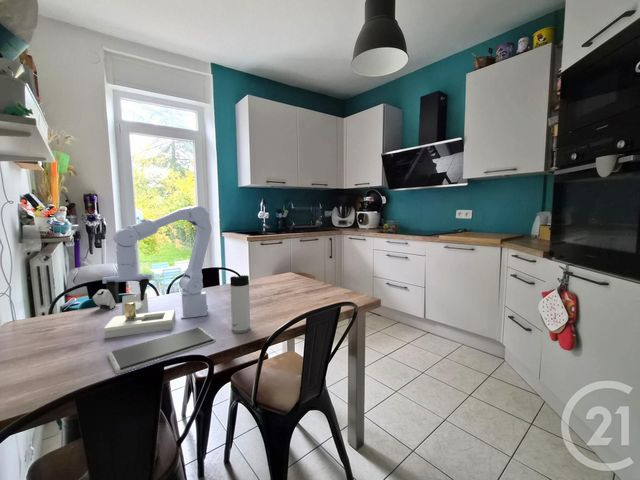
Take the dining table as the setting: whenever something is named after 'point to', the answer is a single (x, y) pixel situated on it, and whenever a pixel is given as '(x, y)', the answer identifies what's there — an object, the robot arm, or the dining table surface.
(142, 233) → the robot arm
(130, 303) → the peg
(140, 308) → the light switch
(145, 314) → the keyhole board
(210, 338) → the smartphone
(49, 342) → the dining table surface
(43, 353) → the dining table surface
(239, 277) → the travel mug
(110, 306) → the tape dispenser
